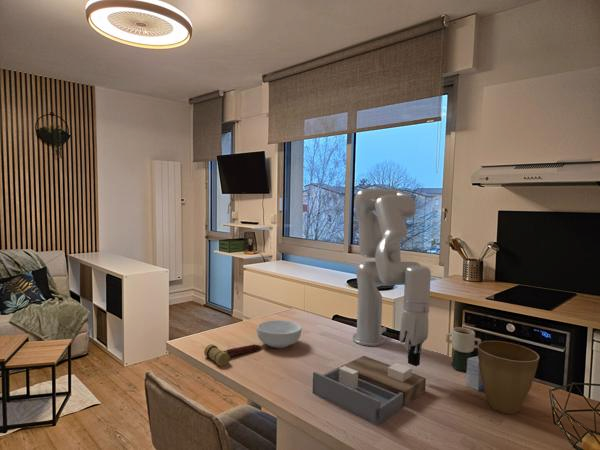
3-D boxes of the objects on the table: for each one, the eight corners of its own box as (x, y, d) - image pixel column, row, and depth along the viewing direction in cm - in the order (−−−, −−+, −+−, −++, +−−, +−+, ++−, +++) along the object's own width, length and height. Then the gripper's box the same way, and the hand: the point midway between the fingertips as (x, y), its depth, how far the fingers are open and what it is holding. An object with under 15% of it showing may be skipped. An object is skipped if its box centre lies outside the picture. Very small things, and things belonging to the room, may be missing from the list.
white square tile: (344, 365, 116) (339, 368, 114) (358, 371, 113) (352, 374, 111) (343, 382, 117) (338, 384, 115) (357, 388, 113) (352, 391, 111)
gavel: (255, 336, 148) (270, 344, 140) (254, 348, 148) (269, 357, 140) (204, 345, 134) (218, 354, 127) (203, 358, 134) (217, 368, 127)
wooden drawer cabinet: (363, 367, 130) (363, 355, 129) (425, 391, 114) (425, 378, 114) (340, 378, 121) (341, 366, 121) (404, 406, 106) (405, 391, 105)
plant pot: (536, 428, 97) (540, 366, 95) (471, 411, 104) (474, 353, 103) (534, 402, 110) (538, 346, 108) (476, 388, 117) (479, 336, 116)
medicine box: (478, 391, 115) (479, 363, 114) (465, 385, 119) (467, 357, 118) (495, 386, 119) (497, 358, 118) (482, 380, 122) (484, 353, 122)
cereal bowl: (309, 342, 151) (309, 324, 150) (284, 356, 137) (285, 337, 136) (273, 333, 160) (274, 316, 159) (247, 346, 146) (247, 327, 145)
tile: (396, 370, 118) (396, 362, 118) (411, 376, 115) (411, 368, 115) (387, 375, 115) (388, 367, 115) (402, 381, 111) (403, 373, 111)
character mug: (480, 368, 131) (482, 330, 130) (478, 376, 125) (480, 336, 124) (446, 361, 136) (448, 324, 136) (442, 368, 130) (444, 330, 129)
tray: (338, 379, 120) (339, 360, 120) (402, 407, 105) (403, 386, 105) (312, 392, 112) (313, 372, 111) (377, 425, 96) (378, 401, 96)
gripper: (416, 299, 128) (414, 354, 129) (392, 308, 117) (390, 367, 118) (438, 304, 122) (436, 361, 124) (415, 313, 112) (413, 375, 113)
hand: (413, 364), depth 121 cm, fingers closed
